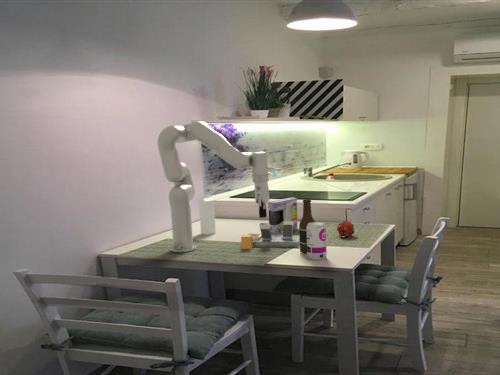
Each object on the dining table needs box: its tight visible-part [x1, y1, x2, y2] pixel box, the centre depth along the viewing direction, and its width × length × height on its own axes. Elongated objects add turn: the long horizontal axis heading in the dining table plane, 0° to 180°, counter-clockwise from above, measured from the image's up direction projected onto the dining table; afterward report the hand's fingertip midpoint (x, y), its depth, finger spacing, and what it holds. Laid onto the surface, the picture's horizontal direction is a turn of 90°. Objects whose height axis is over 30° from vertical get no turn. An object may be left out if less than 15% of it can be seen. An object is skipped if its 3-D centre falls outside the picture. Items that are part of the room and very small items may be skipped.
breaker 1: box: [259, 222, 273, 239], centre depth 227 cm, size 2×5×9 cm, turn 76°
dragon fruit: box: [336, 220, 355, 237], centre depth 239 cm, size 8×8×12 cm
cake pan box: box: [267, 197, 299, 235], centre depth 259 cm, size 19×5×18 cm, turn 129°
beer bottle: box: [298, 198, 316, 255], centre depth 211 cm, size 8×8×24 cm
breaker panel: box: [240, 233, 300, 248], centre depth 231 cm, size 14×28×4 cm, turn 76°
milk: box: [198, 193, 216, 236], centre depth 261 cm, size 6×6×22 cm
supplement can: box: [306, 221, 328, 261], centre depth 200 cm, size 8×8×15 cm
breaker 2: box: [282, 221, 294, 239], centre depth 229 cm, size 2×5×9 cm
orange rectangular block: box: [240, 234, 253, 250], centre depth 224 cm, size 4×4×6 cm
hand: (263, 217), depth 220 cm, fingers closed
